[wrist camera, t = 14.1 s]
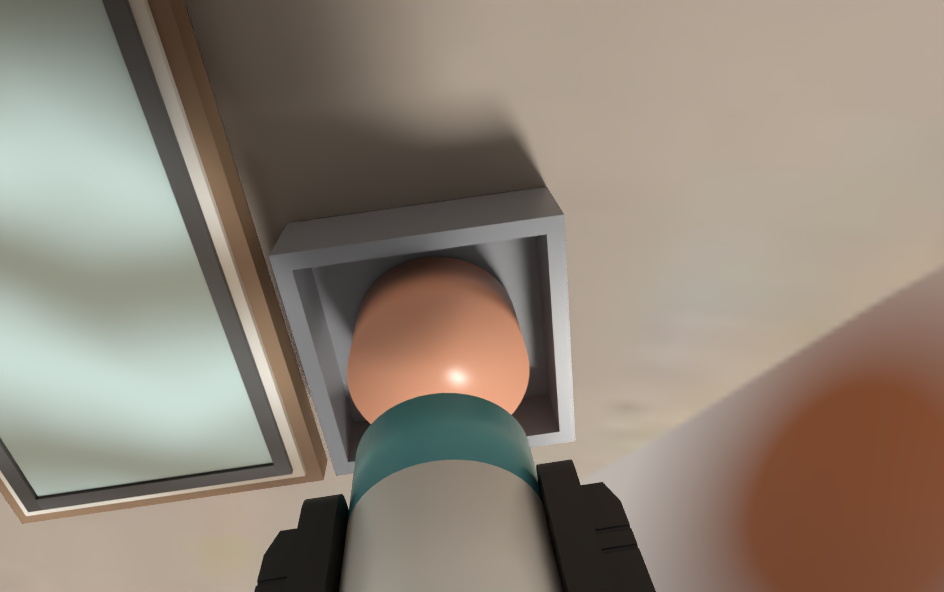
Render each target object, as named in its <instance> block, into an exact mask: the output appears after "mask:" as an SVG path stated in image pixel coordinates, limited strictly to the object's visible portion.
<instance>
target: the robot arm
mask: <svg viewBox="0 0 944 592" xmlns="http://www.w3.org/2000/svg"><path fill="white" fill-rule="evenodd" d="M536 470H537V481H538V486H539V490H540V495H541V499H542V503H543V507H544V511H545V515H546V520H547V524H548V528H549V532H550V536H551V540H552V544H553V549H554V553H555V557H556V561H557V565H558V569H559V574H560V578H561V582H562V586H563V590H564V592H656V591H655V588H654V586H653V583H652V581H651V578H650V575H649V573H648V570H647V568H646V565H645V563H644V560H643V557H642V555H641V552H640V550H639V548H638V546H637V542H636V540H635V537H634V534H633V532H632V529H631V528H630V524H629V521H628V519H627V516H626V514H625V511H624V509H623V506H622V503H621V501H620V500H619V499H618V498H617V497H616V496H615V495H614V494H613V493H612V492H611V490H610V489H609V488H608V487H607V486H606V485H605V484H603V482H600V483H593V484H587V485H580V482H579V479H578V476H577V472H576V469H575V466H574V464H573V461H572V460H565V461H558V462H552V463H545V464H538V465H536ZM348 514H349V509H348V506H347V503H346V500H345V498H344V496H343V495H342V494H339V495H332V496H326V497H319V498H313V499H306V500H305V501H304V502H303V505H302V509H301V514H300V518H299V523H298V528H297V529H290V530H284V531H280V532H279V534H278V535H277V537H276V538H275V540H274V541H273V542H272V544H271V545H270V547H269V548H268V550H267V551H266V553H265V554H264V557H263V561H262V565H261V569H260V572H259V576H258V580H257V582H258V585H257V586H256V588H255V592H339V586H340V578H341V570H342V562H343V554H344V546H345V538H346V530H347V522H348Z"/></svg>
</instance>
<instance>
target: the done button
mask: <svg viewBox="0 0 944 592" xmlns="http://www.w3.org/2000/svg"><path fill="white" fill-rule="evenodd" d="M528 380H529V359H528V354H527V350H526V347H525V343H524V340H523V336H522V333H521V330H520V326H519V323H518V319H517V316H516V312H515V309H514V306H513V303H512V301H511V299H510V297H509V295H508V293H507V291H506V290H505V289H504V287H503V286H502V285H501V284H500V283H499V281H498V280H497V279H496V278H495V277H493V276H492V275H491V274H489V273H488V272H487V271H485V270H483V269H482V268H480V267H478V266H476V265H474V264H472V263H469V262H466V261H463V260H459V259H454V258H448V257H428V258H421V259H416V260H412V261H409V262H406V263H403V264H401V265H399V266H397V267H395V268H393V269H391V270H390V271H388V272H387V273H385V274H384V275H383V276H381V277H380V278H379V279H378V280H377V281H376V282H375V283H374V284H373V285H372V286H371V287H370V289H369V290H368V292H367V293H366V295H365V296H364V298H363V300H362V302H361V304H360V307H359V310H358V314H357V318H356V323H355V329H354V334H353V339H352V344H351V349H350V354H349V359H348V366H347V382H348V387H349V391H350V394H351V397H352V400H353V402H354V403H355V405H356V407H357V409H358V410H359V412H360V413H361V414H362V416H363V417H364V418H365V419H366V420H367V421H368V422H369V423H370V424H372V423H373V422H374V421H375V420H376V419H377V418H378V417H379V416H380V415H382V414H383V413H384V412H385V411H387V410H389V409H390V408H392V407H394V406H395V405H397V404H399V403H402V402H404V401H406V400H409V399H412V398H415V397H418V396H423V395H428V394H436V393H460V394H468V395H472V396H476V397H480V398H483V399H485V400H488V401H490V402H493V403H495V404H497V405H499V406H500V407H502V408H503V409H505V410H506V411H507V412H509V413H510V414H511V415H512V414H513V413H514V411H515V410H516V409H517V407H518V406H519V404H520V403H521V401H522V399H523V396H524V394H525V392H526V389H527V385H528Z"/></svg>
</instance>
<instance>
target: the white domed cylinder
mask: <svg viewBox="0 0 944 592" xmlns="http://www.w3.org/2000/svg"><path fill="white" fill-rule="evenodd" d="M339 592H564V590H563V586H562V582H561V578H560V574H559V569H558V565H557V561H556V557H555V553H554V549H553V544H552V540H551V536H550V532H549V528H548V524H547V520H546V515H545V511H544V507H543V503H542V499H541V495H540V490H539V486H538V481H537V474H536V470H535V466H534V462H533V458H532V454H531V449H530V445H529V441H528V439H527V436H526V433H525V432H524V430H523V428H522V427H521V425H520V424H519V423H518V421H517V420H516V419H515V418H514V417H513V416H512V415H511V414H510V413H509V412H507V411H506V410H505V409H503V408H502V407H500V406H499V405H497V404H495V403H493V402H490V401H488V400H485V399H483V398H480V397H476V396H472V395H468V394H460V393H436V394H428V395H423V396H418V397H415V398H412V399H409V400H406V401H404V402H402V403H399V404H397V405H395V406H394V407H392V408H390V409H389V410H387V411H385V412H384V413H383V414H382V415H380V416H379V417H378V418H377V419H376V420H375V421H374V422H373V423H372V424H371V425H370V426H369V427H368V429H367V430H366V431H365V433H364V434H363V436H362V438H361V440H360V442H359V445H358V448H357V452H356V459H355V467H354V475H353V483H352V491H351V498H350V506H349V514H348V522H347V530H346V538H345V546H344V554H343V562H342V570H341V578H340V586H339Z"/></svg>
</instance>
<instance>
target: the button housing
mask: <svg viewBox="0 0 944 592" xmlns="http://www.w3.org/2000/svg"><path fill="white" fill-rule="evenodd" d="M428 257H448V258H454V259H459V260H463V261H466V262H469V263H472V264H474V265H476V266H478V267H480V268H482V269H483V270H485V271H487V272H488V273H489V274H491V275H492V276H493V277H495V278H496V279H497V280H498V281H499V283H500V284H501V285H502V286H503V287H504V289H505V290H506V291H507V293H508V295H509V297H510V299H511V301H512V303H513V306H514V309H515V312H516V316H517V319H518V323H519V326H520V330H521V333H522V336H523V340H524V343H525V347H526V350H527V354H528V359H529V380H528V385H527V389H526V392H525V394H524V396H523V399H522V401H521V403H520V404H519V406H518V407H517V409H516V410H515V411H514V413H513V414H512V416H513V417H514V418H515V419H516V420H517V421H518V423H519V424H520V425H521V427H522V428H523V430H524V432H525V433H526V436H527V439H528V441H529V445H530V448H531V447H538V446H545V445H552V444H559V443H566V442H573V441H575V424H574V404H573V384H572V364H571V344H570V323H569V303H568V283H567V263H566V243H565V222H564V214H563V212H562V210H561V209H560V207H559V206H558V204H557V202H556V201H555V199H554V198H553V196H552V194H551V193H550V191H549V190H548V188H547V187H542V188H535V189H528V190H521V191H513V192H506V193H499V194H492V195H485V196H478V197H471V198H463V199H456V200H449V201H442V202H435V203H428V204H421V205H413V206H406V207H399V208H392V209H385V210H378V211H371V212H363V213H356V214H349V215H342V216H335V217H328V218H320V219H313V220H306V221H299V222H292V223H287V225H286V226H285V228H284V230H283V232H282V233H281V235H280V237H279V239H278V240H277V242H276V244H275V246H274V247H273V249H272V251H271V253H270V255H269V259H270V262H271V265H272V269H273V272H274V275H275V278H276V282H277V285H278V288H279V291H280V295H281V298H282V301H283V304H284V308H285V311H286V314H287V317H288V321H289V324H290V327H291V330H292V334H293V337H294V340H295V343H296V347H297V350H298V353H299V356H300V360H301V363H302V366H303V369H304V373H305V376H306V379H307V382H308V386H309V389H310V392H311V396H312V399H313V402H314V405H315V409H316V412H317V415H318V418H319V422H320V425H321V428H322V431H323V435H324V438H325V441H326V444H327V448H328V451H329V454H330V457H331V461H332V464H333V467H334V470H335V474H336V476H338V475H345V474H352V473H354V467H355V459H356V452H357V448H358V445H359V442H360V440H361V438H362V436H363V434H364V433H365V431H366V430H367V429H368V427H369V426H370V425H371V424H370V423H369V422H368V421H367V420H366V419H365V418H364V417H363V416H362V414H361V413H360V412H359V410H358V409H357V407H356V405H355V403H354V402H353V400H352V397H351V394H350V391H349V387H348V382H347V366H348V359H349V354H350V349H351V344H352V339H353V334H354V329H355V323H356V318H357V314H358V310H359V307H360V304H361V302H362V300H363V298H364V296H365V295H366V293H367V292H368V290H369V289H370V287H371V286H372V285H373V284H374V283H375V282H376V281H377V280H378V279H379V278H380V277H381V276H383V275H384V274H385V273H387V272H388V271H390V270H391V269H393V268H395V267H397V266H399V265H401V264H403V263H406V262H409V261H412V260H416V259H421V258H428Z"/></svg>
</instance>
